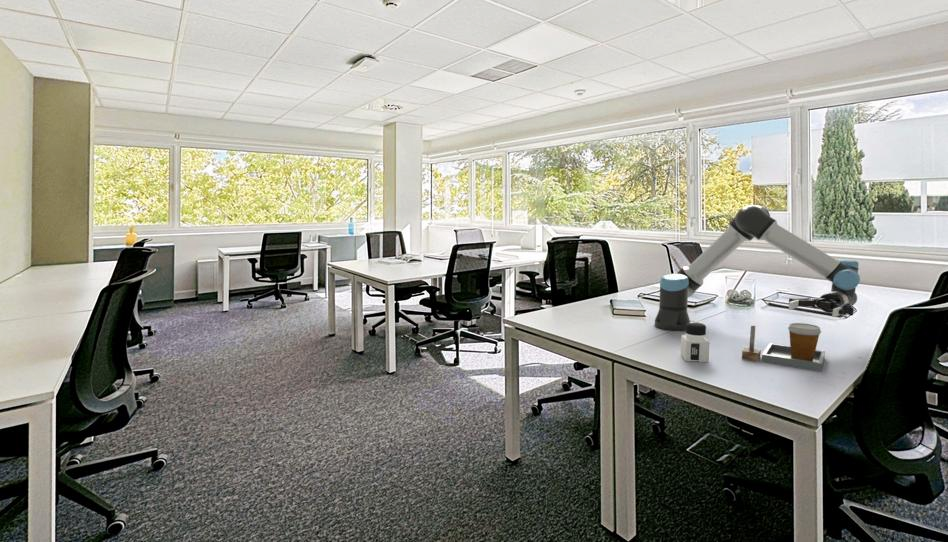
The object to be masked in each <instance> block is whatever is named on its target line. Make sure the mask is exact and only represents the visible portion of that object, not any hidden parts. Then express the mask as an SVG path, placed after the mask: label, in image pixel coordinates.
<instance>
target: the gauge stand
mask: <svg viewBox="0 0 948 542" xmlns="http://www.w3.org/2000/svg"><path fill="white" fill-rule="evenodd" d="M749 333H750V334H749V336H750V337H749V347H744V348H743V350H742V351H741V360H745V361H752V362H756V361H757V362H759V361H760V359H761V349H757V348H755V341H756V340H755V338H756V325H754V324H753V325H750V332H749Z"/></svg>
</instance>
